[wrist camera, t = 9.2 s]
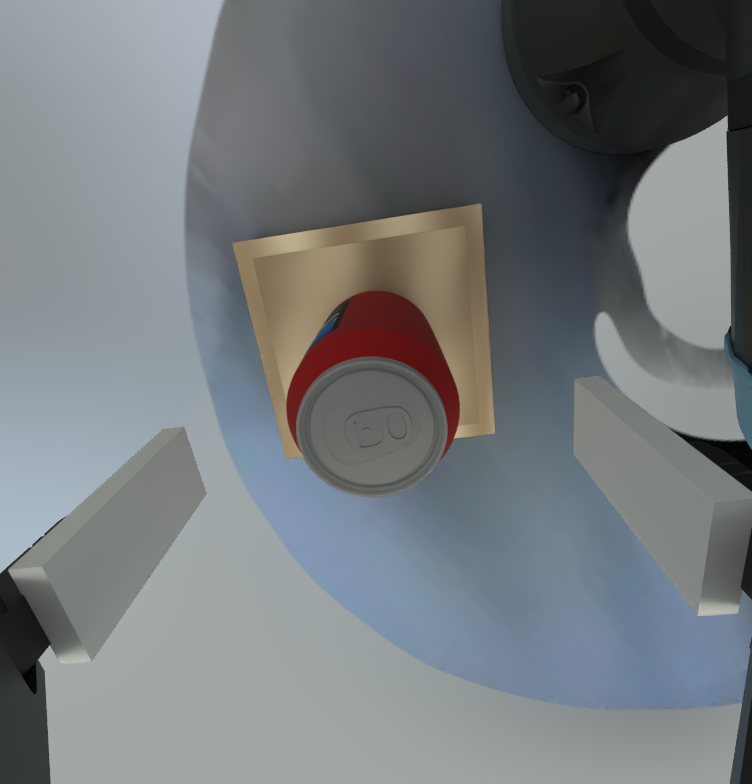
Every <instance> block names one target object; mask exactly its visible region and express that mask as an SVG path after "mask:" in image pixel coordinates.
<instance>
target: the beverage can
mask: <svg viewBox="0 0 752 784" xmlns="http://www.w3.org/2000/svg"><path fill="white" fill-rule="evenodd" d="M286 413H287V421H288V425H289V429H290V432H291V435H292V437H293V440H294V442H295V444H296V446H297V447H298V449H299V450H300V452H301V453H302V455H303V458H304V459H305V461H306V463H307V464H308V465H309V467H310V468H311V469H312V471H313V472H314V473H315V474H316V475H317V476H318V477H319V478H321V479H322V480H323V481H324V482H326V483H327V484H329V485H330V486H332V487H334V488H336V489H338V490H340V491H343V492H345V493H348V494H352V495H356V496H362V497H383V496H389V495H394V494H397V493H400V492H403V491H405V490H407V489H410V488H412V487H413V486H415V485H416V484H418V483H419V482H421V481H422V480H423V479H424V478H426V477H427V476H428V475H429V474H430V473H431V472H432V470H433V469H434V468H435V466H436V465H437V464H438V462H439V461H440V460H441V458H442V457H443V456H444V455H445V453H446V452H447V450H448V449H449V447H450V445H451V443H452V441H453V439H454V437H455V434H456V431H457V428H458V424H459V418H460V401H459V394H458V390H457V387H456V384H455V381H454V378H453V376H452V373H451V371H450V369H449V366H448V364H447V361H446V359H445V357H444V354H443V352H442V350H441V348H440V345H439V343H438V341H437V339H436V337H435V334H434V332H433V330H432V328H431V326H430V324H429V323H428V321H427V319H426V317H425V316H424V314H423V313H422V312H421V311H420V309H419V308H418V307H417V306H415V305H414V304H413V303H412V302H410V301H409V300H407V299H406V298H404V297H402V296H400V295H397V294H394V293H391V292H385V291H368V292H363V293H359V294H356V295H354V296H352V297H350V298H348V299H346V300H345V301H343V302H342V303H340V304H339V305H338V306H337V307H336V308H335V309H334V310H333V311H332V313H331V314H330V315H329V317H328V318H327V320H326V321H325V323H324V324H323V326H322V327H321V329H320V330H319V332H318V334H317V335H316V337H315V338H314V340H313V342H312V343H311V345H310V347H309V348H308V350H307V352H306V354H305V355H304V357H303V359H302V361H301V362H300V364H299V366H298V368H297V370H296V372H295V373H294V375H293V378H292V380H291V382H290V386H289V389H288V394H287V401H286Z"/></svg>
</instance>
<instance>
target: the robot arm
mask: <svg viewBox="0 0 752 784" xmlns="http://www.w3.org/2000/svg"><path fill="white" fill-rule="evenodd" d="M502 28H503V38H504V46H505V51H506V56H507V60H508V64H509V67H510V71H511V74H512V76H513V79H514V82H515V84H516V86H517V88H518V91H519V92H520V94H521V96H522V98H523V100H524V101H525V103H526V104H527V106H528V108H529V109H530V110H531V112H532V113H533V114H534V115H535V117H536V118H537V119H538V120H539V121H540V122H541V123H542V124H543V125H544V126H545V127H546V128H547V129H548V130H550V131H551V132H552V133H553V134H555V135H556V136H558V137H559V138H561V139H562V140H564V141H566V142H568V143H570V144H571V145H574V146H576V147H579V148H581V149H585V150H588V151H592V152H596V153H603V154H630V153H638V152H643V151H647V150H651V149H654V148H658V147H661V146H665V145H668V144H672V143H675V142H678V141H681V140H683V139H686V138H688V137H690V136H692V135H695V134H697V133H698V132H701V131H703V130H705V129H706V128H708V127H710V126H712V125H713V124H715V123H717V122H718V121H720V120H721V119H723V118H724V117H725V116H727V115H728V130H729V131H727V161H728V190H729V217H730V247H731V326H730V328H729V330H728V333H727V334H726V335H725V342H724V343H725V345H724V348H725V354H726V357H727V359H728V362H729V364H730V365H731V367H732V368H733V378H734V389H735V398H736V409H737V418H738V422H739V425H740V428H741V431H742V433H743V435H744V437H745V439H746V441H747V443H748V444H749V446H750V448H751V449H752V0H503V1H502ZM574 455H575V457H576V458H577V459H578V461H579V462H580V463H581V465H582V466H583V467H584V468H585V470H586V471H587V472H588V474H589V475H590V476H591V478H592V479H593V480H594V482H595V483H596V484H597V485H598V487H599V488H600V489H601V491H602V492H603V493H604V495H605V496H606V497H607V499H608V500H609V501H610V502H611V504H612V505H613V506H614V508H615V509H616V510H617V512H618V513H619V514H620V516H621V517H622V518H623V519H624V521H625V522H626V523H627V525H628V526H629V527H630V529H631V530H632V531H633V533H634V534H635V535H636V536H637V538H638V539H639V540H640V542H641V543H642V544H643V546H644V547H645V548H646V550H647V551H648V552H649V553H650V555H651V556H652V557H653V559H654V560H655V561H656V563H657V564H658V565H659V567H660V568H661V569H662V570H663V572H664V573H665V574H666V576H667V577H668V578H669V580H670V581H671V582H672V584H673V585H674V586H675V587H676V589H677V590H678V591H679V593H680V594H681V595H682V597H683V598H684V599H685V601H686V602H687V603H688V604H689V606H690V607H691V608H692V610H693V611H694V612H695V614H696V615H697V616H709V615H723V614H736V613H738V610H739V605H740V599H741V594H742V590H743V591H744V592H745V593H746V594H747V595H748V596H749V597H750V598H751V599H752V470H750V469H749V468H747V467H746V466H745V465H743V464H742V463H741V464H739V463H738V461H737V460H736V459H735V458H733V457H732V456H730V455H729V454H727V453H726V452H725V451H723V450H722V449H719V448H717V447H714V446H712V445H709V444H707V443H704V442H701V441H690V442H686V441H684V440H683V439H682V438H681V437H679V436H678V435H677V434H675V433H674V432H673V431H671V430H670V429H669V428H667V427H666V426H665V425H663V424H662V423H661V422H660V421H658V420H657V419H656V418H654V417H653V416H652V415H650V414H649V413H648V412H646V411H645V410H644V409H642V408H641V407H640V406H639V405H637V404H636V403H635V402H633V401H632V400H631V399H629V398H628V397H627V396H625V395H624V394H623V393H621V392H620V391H619V390H618V389H616V388H615V387H614V386H612V385H611V384H610V383H608V382H607V381H606V380H604V379H603V378H602V377H600V376H593V377H585V378H576V379H575V387H574ZM205 495H206V491H205V488H204V485H203V482H202V479H201V476H200V473H199V470H198V467H197V464H196V461H195V458H194V455H193V452H192V449H191V447H190V443H189V440H188V437H187V434H186V431H185V428H184V427H177V428H167V429H162V430H161V431H160V432H159V433H158V434H157V435H156V436H155V437H154V438H153V439H152V440H150V441H149V442H148V443H147V444H146V445H145V446H144V447H143V448H141V450H139V451H138V452H137V453H136V454H135V455H134V456H133V457H132V458H130V460H128V461H127V462H126V463H125V464H124V465H123V466H122V467H121V468H119V469H118V470H117V471H116V472H115V473H114V474H113V475H112V476H111V477H110V478H108V479H107V480H106V481H105V482H104V483H103V484H102V485H101V486H100V487H99V488H97V489H96V490H95V491H94V492H93V493H92V494H91V495H90V496H89V497H88V498H86V499H85V500H84V501H83V502H82V503H81V504H80V505H79V506H78V507H76V508H75V509H74V510H73V511H72V512H71V513H70V514H69V515H67V516H66V517H64V518H63V519H61V520H60V521H58V522H57V523H56V524H55V525H54V526H53V527H52V528H50V529H49V530H48V531H47V532H46V533H45V535H44V536H42V537H40V538H39V539H38V540H37V541H36V542H35V543H34V544H33V545H32V547H31V548H28V549H27V550H26V551H25V552H24V553H23V554H22V555H20V557H18V558H17V559H16V560H15V561H14V562H13V563H12V564H10V565H9V566H8V567H7V568H6V569H5V570H4V571H3V572H2V573H1V574H0V784H50V766H49V748H48V747H49V746H48V729H47V709H46V691H45V672H44V670H43V668H42V666H41V664H40V662H39V661H38V659H39V658H40V656H41V655H42V654H43V653H44V651H45V650H46V649H47V648H48V646H49V645H50V646H51V648H52V649H53V651H54V653H55V655H56V656H57V658H58V660H59V662H60V664H65V663H77V662H91V661H92V660H93V659H94V657H95V656H96V654H97V653H98V651H99V650H100V649H101V647H102V646H103V644H104V643H105V641H106V640H107V638H108V637H109V635H110V634H111V633H112V631H113V629H114V628H115V627H116V625H117V624H118V622H119V621H120V619H121V618H122V616H123V615H124V613H125V612H126V610H127V609H128V608H129V606H130V605H131V603H132V602H133V600H134V599H135V597H136V596H137V594H138V593H139V592H140V590H141V589H142V587H143V586H144V584H145V583H146V581H147V580H148V578H149V577H150V576H151V574H152V573H153V571H154V570H155V568H156V567H157V565H158V564H159V562H160V561H161V559H162V558H163V557H164V555H165V554H166V552H167V550H168V549H169V548H170V546H171V545H172V543H173V542H174V540H175V539H176V537H177V536H178V535H179V533H180V532H181V530H182V529H183V527H184V526H185V524H186V523H187V521H188V520H189V518H190V517H191V516H192V514H193V512H194V511H195V510H196V508H197V507H198V505H199V504H200V502H201V501H202V499H203V498H204V497H205ZM750 648H751V651H750V658H749V664H748V671H747V677H746V683H745V690H744V696H743V702H742V709H741V715H740V722H739V728H738V734H737V741H736V747H735V754H734V760H733V766H732V773H731V779H730V784H752V639H751V643H750Z"/></svg>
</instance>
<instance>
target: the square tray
mask: <svg viewBox="0 0 752 784" xmlns="http://www.w3.org/2000/svg"><path fill="white" fill-rule="evenodd" d="M232 244H233V248H234V252H235V256H236V260H237V264H238V268H239V272H240V276H241V280H242V284H243V288H244V292H245V296H246V300H247V304H248V308H249V312H250V316H251V320H252V324H253V328H254V332H255V336H256V340H257V344H258V348H259V352H260V356H261V360H262V364H263V368H264V372H265V376H266V380H267V384H268V388H269V392H270V396H271V400H272V404H273V408H274V412H275V416H276V420H277V424H278V428H279V432H280V436H281V440H282V444H283V448H284V453H285V457H286V459H290V458H298V457H303V455H302V453H301V452H300V450H299V449H298V447H297V446H296V444H295V442H294V440H293V437H292V435H291V432H290V429H289V425H288V421H287V413H286V401H287V394H288V389H289V386H290V382H291V380H292V378H293V375H294V373H295V372H296V370H297V368H298V366H299V364H300V362H301V361H302V359H303V357H304V355H305V354H306V352H307V350H308V348H309V347H310V345H311V343H312V342H313V340H314V338H315V337H316V335H317V334H318V332H319V330H320V329H321V327H322V326H323V324H324V323H325V321H326V320H327V318H328V317H329V315H330V314H331V313H332V311H333V310H334V309H335V308H336V307H337V306H338V305H339V304H340V303H342V302H343V301H345V300H346V299H348V298H350V297H352V296H354V295H356V294H359V293H363V292H368V291H385V292H391V293H394V294H397V295H400V296H402V297H404V298H406V299H407V300H409V301H410V302H412V303H413V304H414V305H415V306H417V307H418V308H419V309H420V311H421V312H422V313H423V314H424V316H425V317H426V319H427V321H428V323H429V324H430V326H431V328H432V330H433V332H434V334H435V337H436V339H437V341H438V343H439V345H440V348H441V350H442V352H443V354H444V357H445V359H446V361H447V364H448V366H449V369H450V371H451V373H452V376H453V378H454V381H455V384H456V387H457V390H458V394H459V401H460V418H459V424H458V428H457V431H456V434H455V437H454V438H462V437H470V436H478V435H487V434H495V426H494V409H493V392H492V375H491V357H490V340H489V323H488V306H487V289H486V272H485V255H484V238H483V221H482V204H481V203H480V204H474V205H468V206H461V207H455V208H449V209H443V210H436V211H430V212H424V213H417V214H411V215H405V216H398V217H392V218H386V219H380V220H373V221H367V222H361V223H354V224H348V225H342V226H336V227H329V228H323V229H317V230H310V231H304V232H298V233H291V234H285V235H279V236H273V237H266V238H260V239H254V240H247V241H241V242H235V243H232Z"/></svg>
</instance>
